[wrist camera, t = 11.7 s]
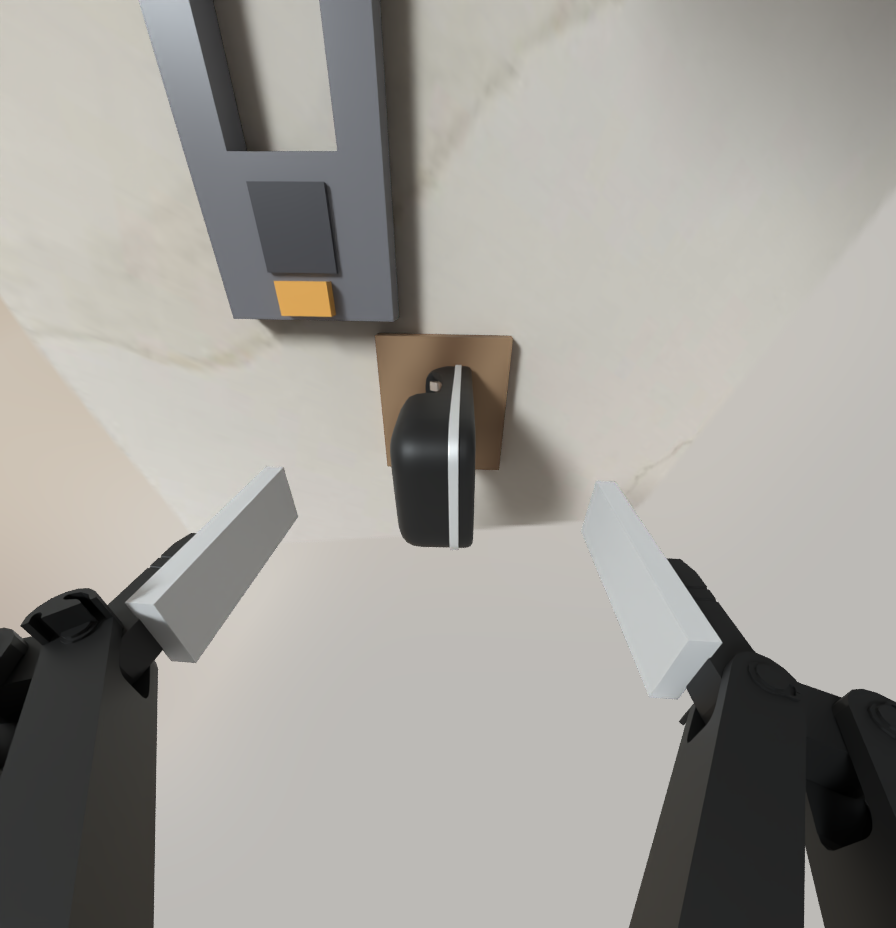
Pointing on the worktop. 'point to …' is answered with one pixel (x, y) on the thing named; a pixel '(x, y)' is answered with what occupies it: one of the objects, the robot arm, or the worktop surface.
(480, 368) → the walnut board
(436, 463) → the battery charger
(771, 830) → the robot arm
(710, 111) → the worktop surface
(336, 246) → the grey flat piece
